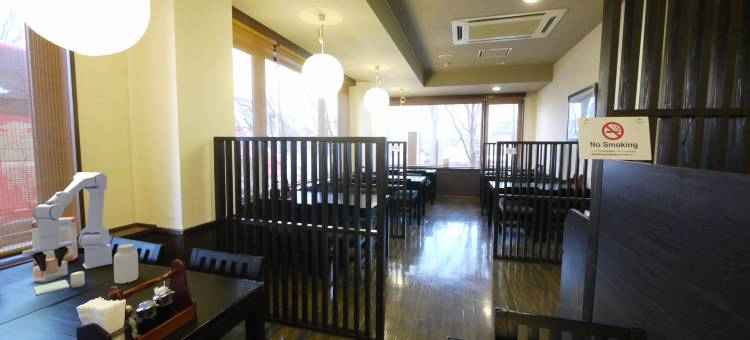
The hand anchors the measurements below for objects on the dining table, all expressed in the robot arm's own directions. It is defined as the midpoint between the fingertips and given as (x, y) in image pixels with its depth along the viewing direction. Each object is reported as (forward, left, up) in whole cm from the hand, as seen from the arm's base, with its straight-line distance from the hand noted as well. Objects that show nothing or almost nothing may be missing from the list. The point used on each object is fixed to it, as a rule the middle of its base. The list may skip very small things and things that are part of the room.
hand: (50, 268), depth 121 cm
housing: (-1, -13, -8) cm, 15 cm away
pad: (0, 0, -8) cm, 8 cm away
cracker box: (-5, -37, -8) cm, 38 cm away
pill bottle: (-21, +12, -8) cm, 26 cm away
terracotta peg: (0, 0, -2) cm, 2 cm away
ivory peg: (-7, +4, -8) cm, 11 cm away
